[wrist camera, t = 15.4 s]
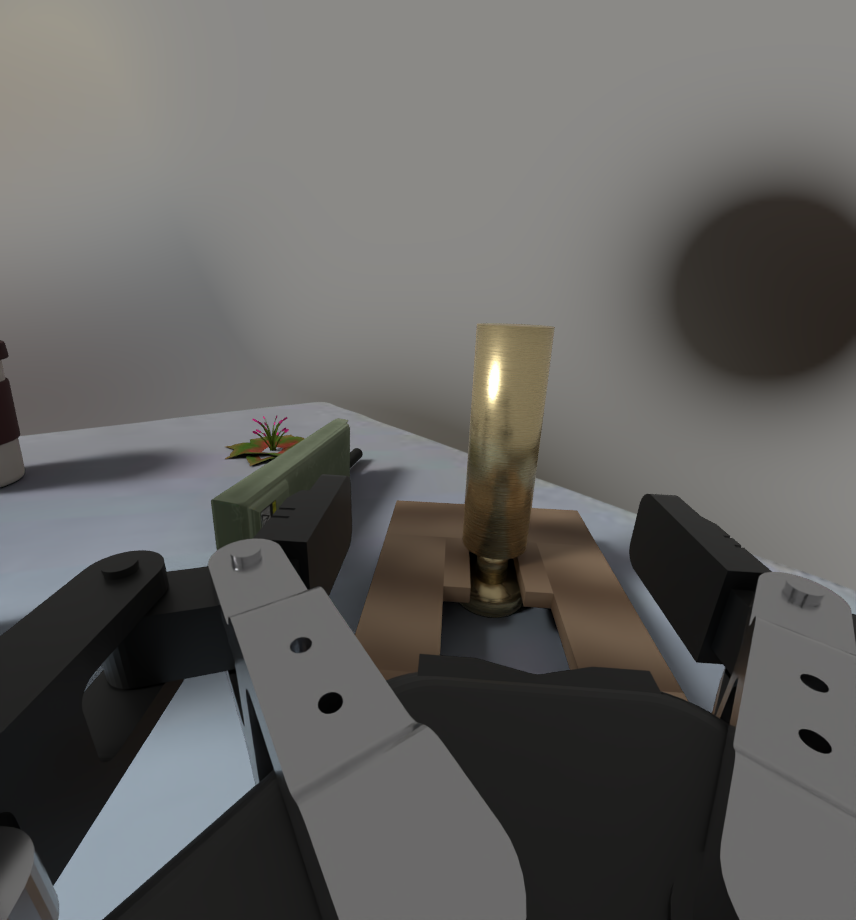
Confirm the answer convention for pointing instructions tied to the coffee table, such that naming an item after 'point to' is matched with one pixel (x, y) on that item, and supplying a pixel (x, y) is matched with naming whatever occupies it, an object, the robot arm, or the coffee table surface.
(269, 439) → the lily flower
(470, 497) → the brass peg
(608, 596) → the keyhole plate
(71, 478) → the coffee table surface
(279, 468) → the handheld radio
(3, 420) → the coffee cup
